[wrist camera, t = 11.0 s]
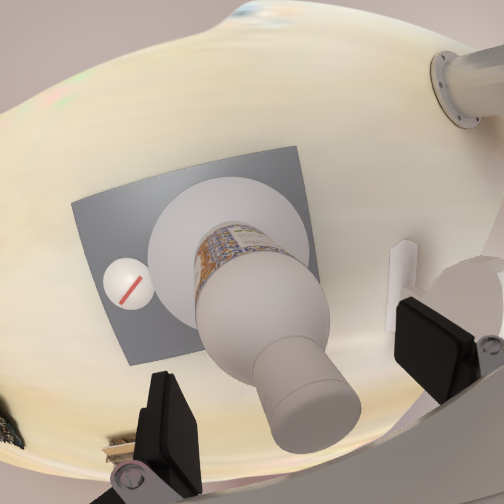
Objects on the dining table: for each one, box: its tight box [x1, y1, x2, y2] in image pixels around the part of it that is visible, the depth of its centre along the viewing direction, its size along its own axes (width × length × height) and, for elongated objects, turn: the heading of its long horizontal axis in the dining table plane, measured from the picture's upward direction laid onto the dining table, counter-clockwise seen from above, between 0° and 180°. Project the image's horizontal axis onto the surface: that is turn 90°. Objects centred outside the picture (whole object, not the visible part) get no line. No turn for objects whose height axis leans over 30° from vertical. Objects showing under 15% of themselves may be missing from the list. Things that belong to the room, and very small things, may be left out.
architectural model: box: [102, 439, 135, 470], centre depth 31 cm, size 3×7×7 cm, turn 110°
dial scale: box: [71, 146, 320, 366], centre depth 28 cm, size 22×18×4 cm
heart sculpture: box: [385, 240, 504, 343], centre depth 28 cm, size 16×5×18 cm, turn 6°
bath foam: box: [194, 221, 361, 454], centre depth 17 cm, size 7×7×20 cm
